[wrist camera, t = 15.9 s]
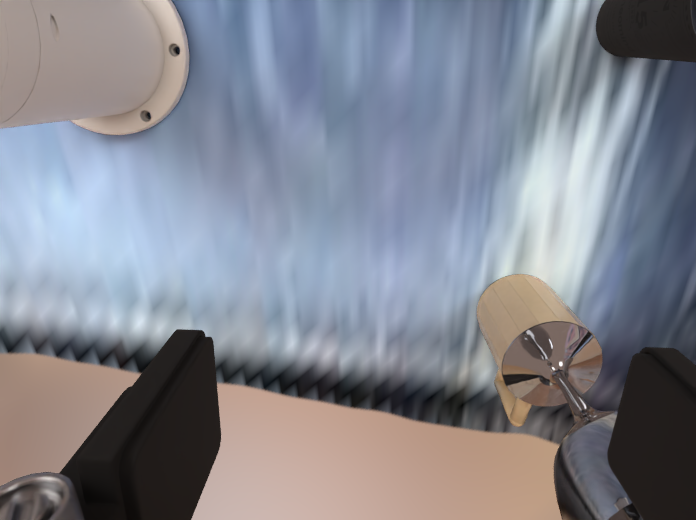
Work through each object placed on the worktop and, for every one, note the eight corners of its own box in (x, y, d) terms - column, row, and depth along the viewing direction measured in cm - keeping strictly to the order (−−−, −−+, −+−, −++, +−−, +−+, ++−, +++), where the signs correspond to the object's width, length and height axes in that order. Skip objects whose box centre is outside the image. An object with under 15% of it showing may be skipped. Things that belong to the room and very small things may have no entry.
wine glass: (622, 387, 35) (794, 590, 21) (518, 424, 36) (613, 638, 22) (589, 298, 33) (757, 459, 19) (479, 342, 34) (559, 523, 20)
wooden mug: (489, 266, 42) (521, 313, 33) (566, 282, 42) (617, 332, 34) (456, 367, 45) (477, 431, 37) (528, 381, 46) (565, 448, 37)
